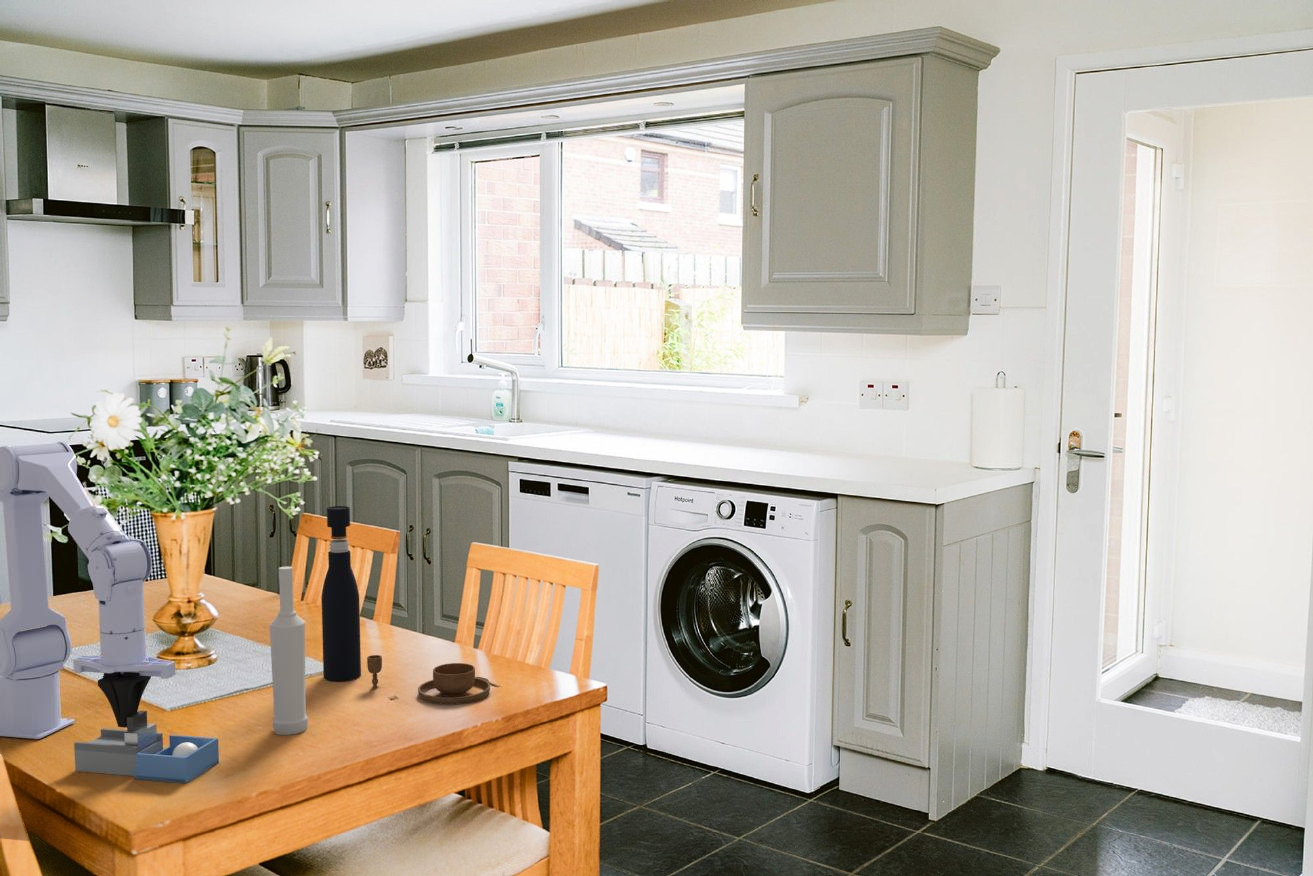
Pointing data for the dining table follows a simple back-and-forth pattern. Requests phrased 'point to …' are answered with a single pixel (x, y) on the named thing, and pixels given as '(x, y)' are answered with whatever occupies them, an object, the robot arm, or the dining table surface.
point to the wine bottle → (340, 605)
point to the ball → (184, 749)
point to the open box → (178, 760)
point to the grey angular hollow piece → (140, 730)
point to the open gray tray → (111, 753)
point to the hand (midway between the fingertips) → (126, 725)
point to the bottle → (288, 662)
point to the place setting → (443, 682)
